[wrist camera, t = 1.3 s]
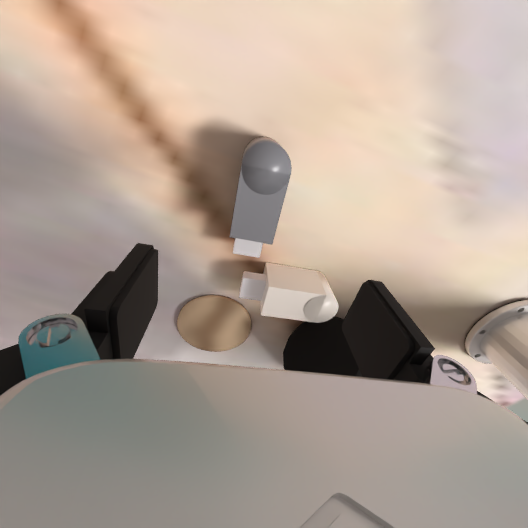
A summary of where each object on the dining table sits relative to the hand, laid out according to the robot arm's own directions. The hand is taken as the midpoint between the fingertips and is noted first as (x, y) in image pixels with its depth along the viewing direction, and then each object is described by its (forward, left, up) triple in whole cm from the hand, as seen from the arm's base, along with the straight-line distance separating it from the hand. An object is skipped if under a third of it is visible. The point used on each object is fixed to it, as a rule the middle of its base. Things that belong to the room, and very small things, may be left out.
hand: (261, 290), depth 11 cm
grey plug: (0, 0, -17) cm, 17 cm away
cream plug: (-6, +10, -17) cm, 21 cm away
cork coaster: (+2, +19, -17) cm, 26 cm away
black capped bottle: (-22, +28, -17) cm, 40 cm away
